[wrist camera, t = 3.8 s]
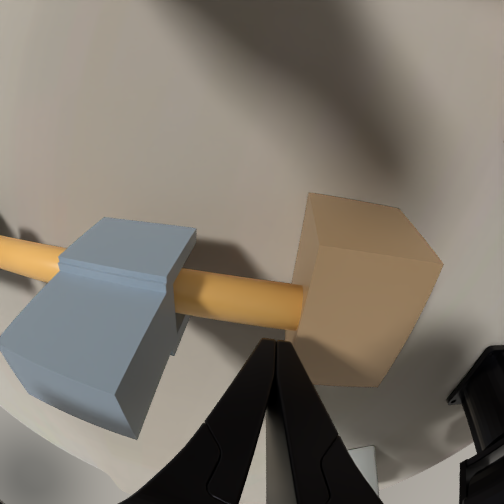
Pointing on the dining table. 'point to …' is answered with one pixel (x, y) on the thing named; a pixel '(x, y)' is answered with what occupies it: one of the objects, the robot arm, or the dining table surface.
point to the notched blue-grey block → (104, 324)
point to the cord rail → (311, 289)
